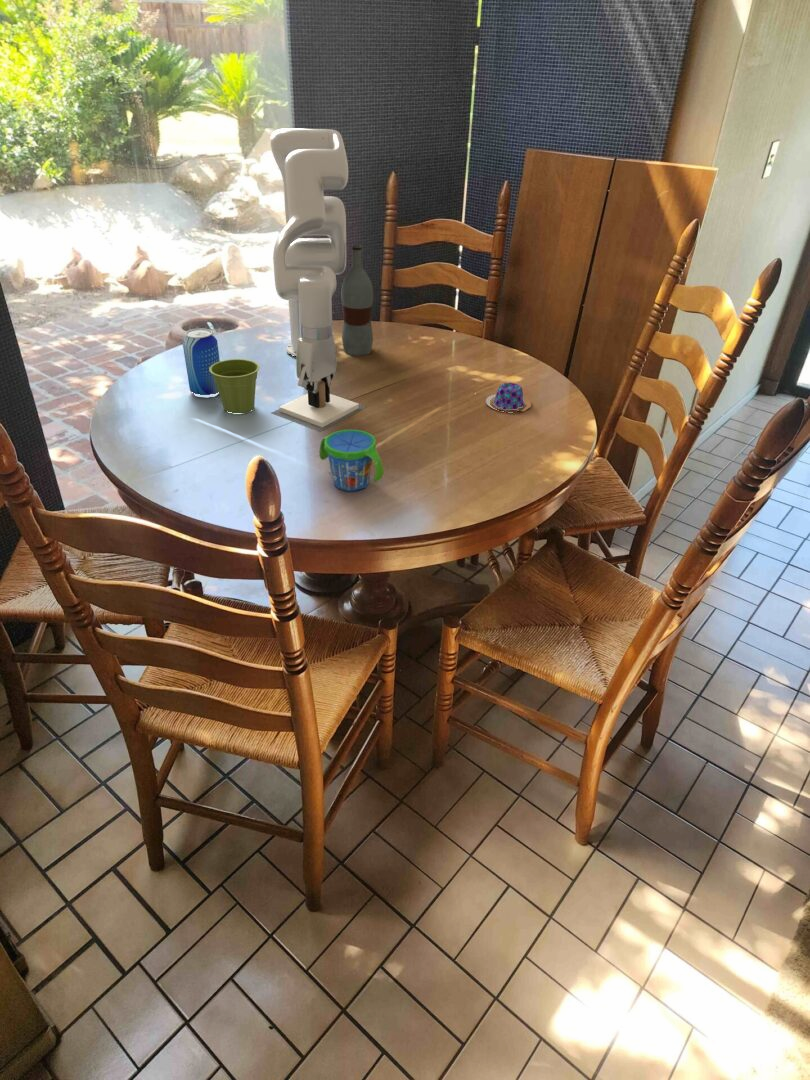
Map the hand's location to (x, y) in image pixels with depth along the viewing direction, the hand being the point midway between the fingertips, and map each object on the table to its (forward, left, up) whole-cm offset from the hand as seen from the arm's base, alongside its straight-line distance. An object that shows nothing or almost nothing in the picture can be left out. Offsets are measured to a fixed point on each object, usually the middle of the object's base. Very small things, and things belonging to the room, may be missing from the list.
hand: (319, 402), depth 175 cm
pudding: (-35, +35, -3) cm, 49 cm away
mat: (0, 0, -2) cm, 2 cm away
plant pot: (+12, -16, -3) cm, 20 cm away
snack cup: (+22, +28, -3) cm, 36 cm away
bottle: (-39, -19, -3) cm, 43 cm away
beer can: (+10, -30, -3) cm, 32 cm away
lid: (0, 0, -2) cm, 2 cm away
